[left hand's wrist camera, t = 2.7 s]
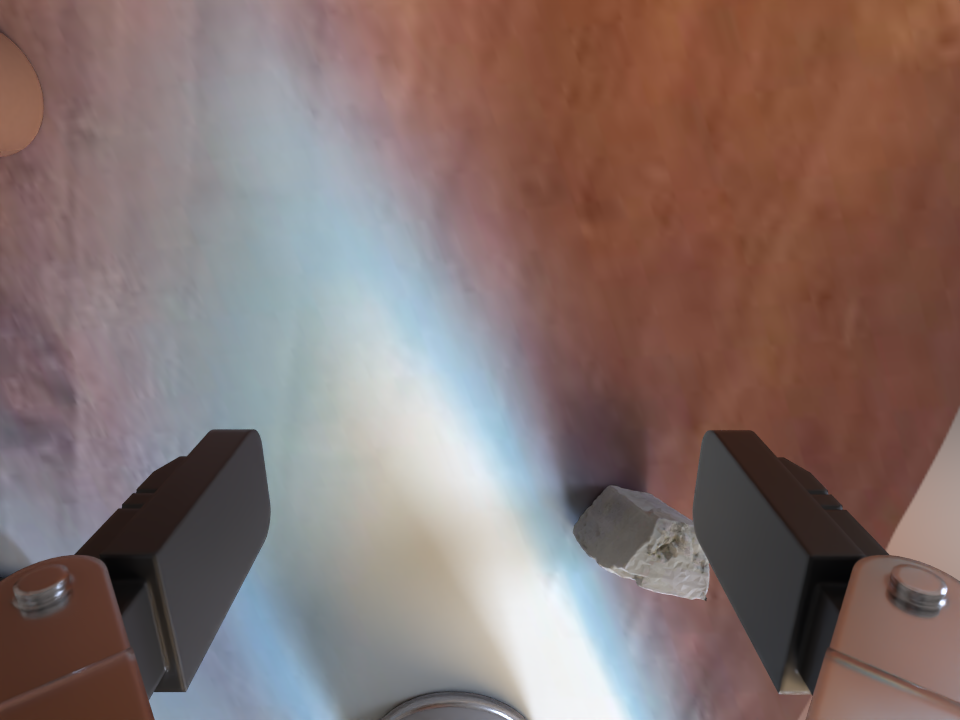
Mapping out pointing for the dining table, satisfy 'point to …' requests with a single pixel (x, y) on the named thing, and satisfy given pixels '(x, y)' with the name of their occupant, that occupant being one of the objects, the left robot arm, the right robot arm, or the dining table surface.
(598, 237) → the dining table surface
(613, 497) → the mineral specimen
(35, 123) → the bottle
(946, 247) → the dining table surface
